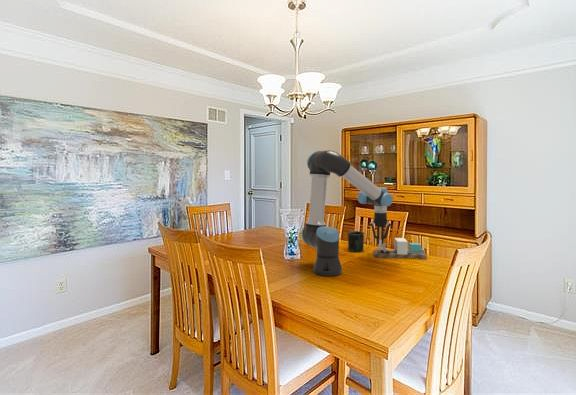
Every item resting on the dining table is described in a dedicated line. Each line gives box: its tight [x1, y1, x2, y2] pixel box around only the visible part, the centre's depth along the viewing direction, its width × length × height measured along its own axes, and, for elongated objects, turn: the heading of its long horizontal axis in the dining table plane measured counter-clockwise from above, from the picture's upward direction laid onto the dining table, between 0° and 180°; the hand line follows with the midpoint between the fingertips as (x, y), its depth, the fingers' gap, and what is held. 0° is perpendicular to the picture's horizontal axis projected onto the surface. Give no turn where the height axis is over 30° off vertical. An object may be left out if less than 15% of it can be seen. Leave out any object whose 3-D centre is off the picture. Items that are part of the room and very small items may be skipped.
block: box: [408, 242, 422, 252], centre depth 200 cm, size 6×4×4 cm
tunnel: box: [393, 237, 409, 255], centre depth 201 cm, size 6×10×8 cm, turn 172°
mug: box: [347, 230, 365, 253], centre depth 217 cm, size 11×15×12 cm
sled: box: [381, 242, 426, 254], centre depth 201 cm, size 24×7×5 cm, turn 82°
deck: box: [372, 248, 428, 260], centre depth 202 cm, size 30×11×2 cm, turn 82°
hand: (379, 249), depth 203 cm, fingers closed
